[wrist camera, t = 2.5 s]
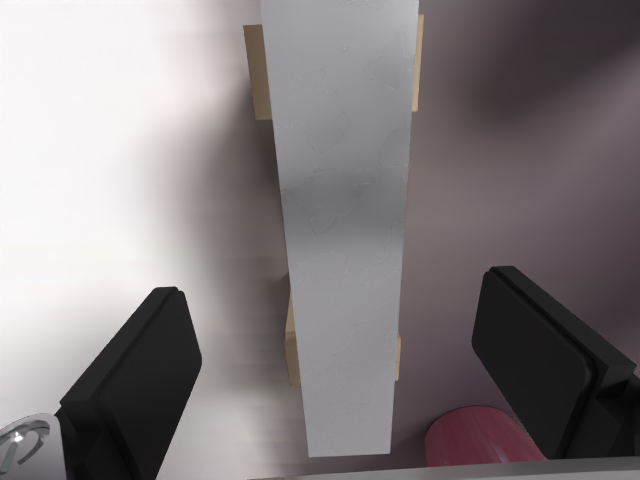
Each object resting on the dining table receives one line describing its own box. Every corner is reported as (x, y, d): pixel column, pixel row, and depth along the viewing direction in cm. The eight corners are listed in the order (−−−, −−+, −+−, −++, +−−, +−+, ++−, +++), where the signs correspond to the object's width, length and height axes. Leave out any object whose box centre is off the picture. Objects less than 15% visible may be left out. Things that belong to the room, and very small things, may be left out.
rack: (381, 17, 17) (429, -43, 10) (374, 313, 25) (397, 399, 18) (268, 24, 17) (234, -31, 10) (298, 316, 25) (291, 404, 18)
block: (272, -22, 11) (250, -84, 7) (387, -29, 11) (424, -95, 7) (310, 388, 19) (309, 457, 15) (375, 385, 19) (389, 453, 15)
